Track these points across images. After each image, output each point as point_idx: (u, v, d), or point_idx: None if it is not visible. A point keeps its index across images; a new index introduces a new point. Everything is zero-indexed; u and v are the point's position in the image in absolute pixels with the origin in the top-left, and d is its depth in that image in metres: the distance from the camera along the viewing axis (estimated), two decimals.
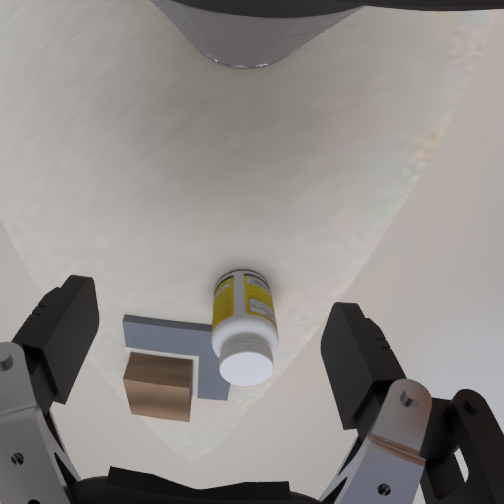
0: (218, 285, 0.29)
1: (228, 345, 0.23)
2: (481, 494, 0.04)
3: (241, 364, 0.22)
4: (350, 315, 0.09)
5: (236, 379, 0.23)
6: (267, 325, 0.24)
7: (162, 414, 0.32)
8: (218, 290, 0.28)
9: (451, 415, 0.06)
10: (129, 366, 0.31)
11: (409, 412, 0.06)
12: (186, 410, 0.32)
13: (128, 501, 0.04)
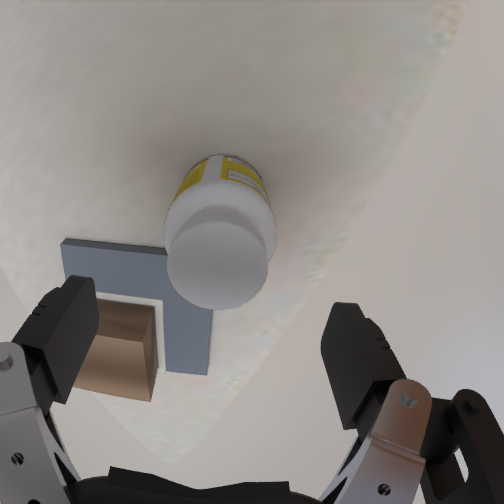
0: (187, 175, 0.19)
1: (185, 222, 0.13)
2: (481, 494, 0.04)
3: (206, 254, 0.12)
4: (350, 315, 0.09)
5: (199, 292, 0.13)
6: (256, 197, 0.14)
7: (112, 388, 0.22)
8: (185, 178, 0.19)
9: (451, 415, 0.06)
10: None
11: (409, 412, 0.06)
12: (144, 382, 0.22)
13: (128, 501, 0.04)
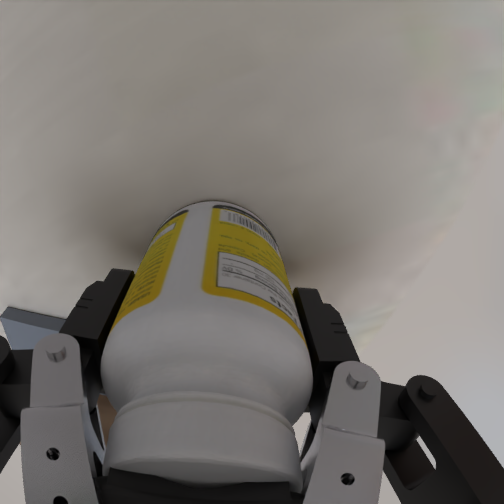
0: (154, 236, 0.12)
1: (127, 409, 0.05)
2: (454, 482, 0.04)
3: None
4: (307, 299, 0.10)
5: None
6: (278, 339, 0.06)
7: None
8: (149, 245, 0.11)
9: (406, 405, 0.06)
10: None
11: (353, 393, 0.06)
12: None
13: (128, 501, 0.04)
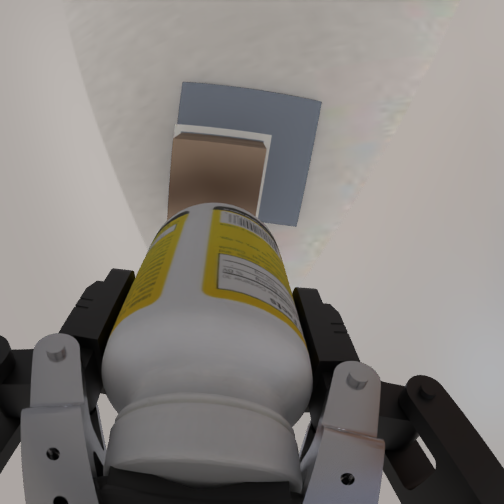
0: (154, 238, 0.12)
1: (128, 410, 0.05)
2: (454, 482, 0.04)
3: None
4: (306, 299, 0.10)
5: None
6: (278, 340, 0.06)
7: None
8: (150, 246, 0.11)
9: (406, 405, 0.06)
10: (181, 135, 0.24)
11: (352, 393, 0.06)
12: (253, 203, 0.25)
13: (128, 501, 0.04)
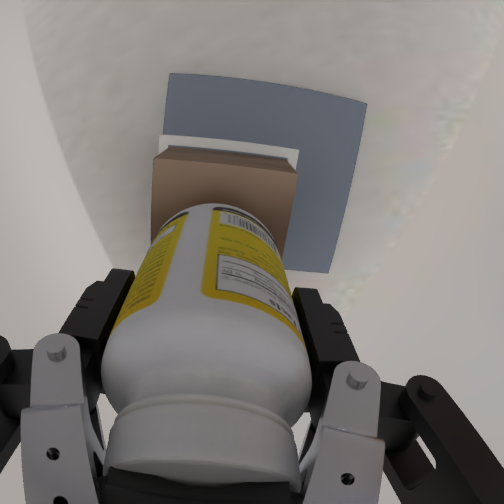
0: (154, 238, 0.12)
1: (128, 411, 0.05)
2: (454, 482, 0.04)
3: None
4: (306, 299, 0.10)
5: None
6: (278, 342, 0.06)
7: None
8: None
9: (406, 405, 0.06)
10: (167, 152, 0.16)
11: (352, 393, 0.06)
12: None
13: (128, 501, 0.04)
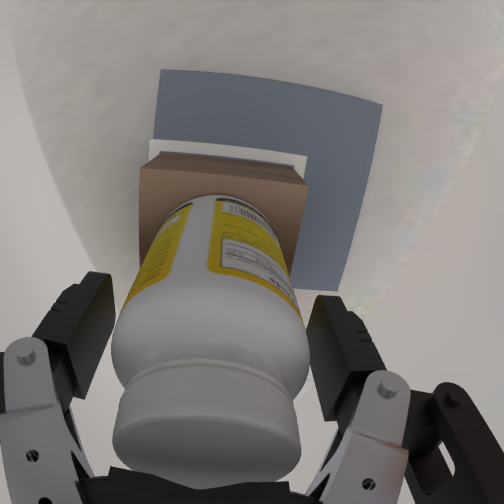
0: (160, 228, 0.12)
1: (138, 378, 0.06)
2: (470, 488, 0.04)
3: (183, 449, 0.05)
4: (331, 308, 0.09)
5: (178, 480, 0.06)
6: (277, 313, 0.07)
7: None
8: None
9: (432, 410, 0.06)
10: (157, 160, 0.14)
11: (385, 403, 0.06)
12: None
13: (128, 501, 0.04)
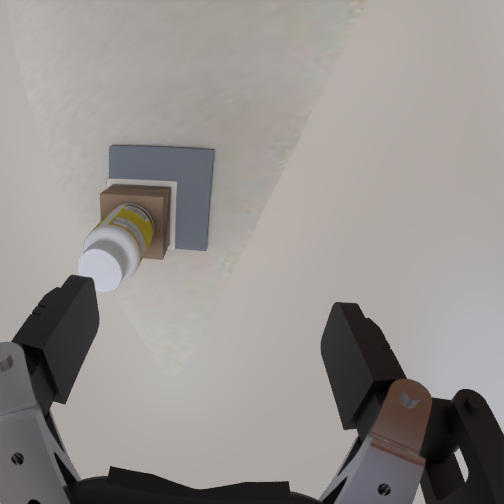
0: None
1: None
2: (481, 494, 0.04)
3: (93, 264, 0.23)
4: (350, 315, 0.09)
5: (94, 283, 0.24)
6: (122, 234, 0.25)
7: None
8: None
9: (451, 415, 0.06)
10: (108, 189, 0.32)
11: (409, 412, 0.06)
12: (159, 237, 0.33)
13: (128, 501, 0.04)
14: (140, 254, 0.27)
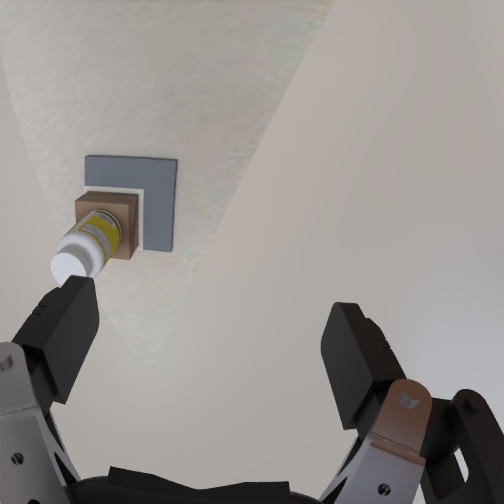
0: None
1: None
2: (481, 494, 0.04)
3: (62, 265, 0.26)
4: (350, 315, 0.09)
5: (64, 281, 0.27)
6: (88, 239, 0.28)
7: None
8: None
9: (451, 415, 0.06)
10: (83, 196, 0.35)
11: (409, 412, 0.06)
12: (126, 240, 0.36)
13: (128, 501, 0.04)
14: (104, 256, 0.30)
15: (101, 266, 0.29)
